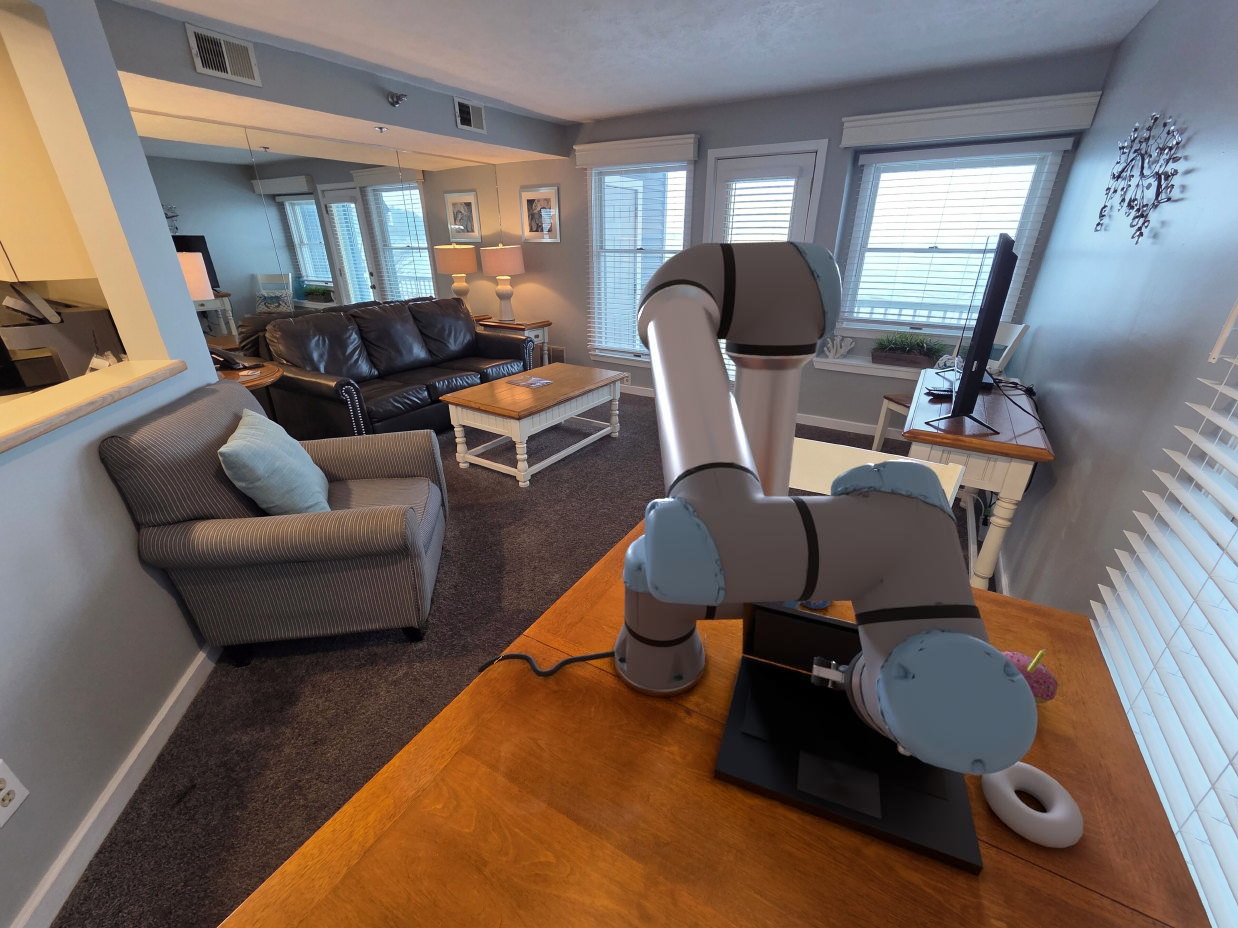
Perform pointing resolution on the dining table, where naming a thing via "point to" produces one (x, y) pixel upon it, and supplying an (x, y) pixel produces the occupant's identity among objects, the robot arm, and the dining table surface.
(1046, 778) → the donut
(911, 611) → the robot arm
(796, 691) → the laptop
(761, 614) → the screen
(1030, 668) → the cupcake
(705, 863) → the dining table surface
